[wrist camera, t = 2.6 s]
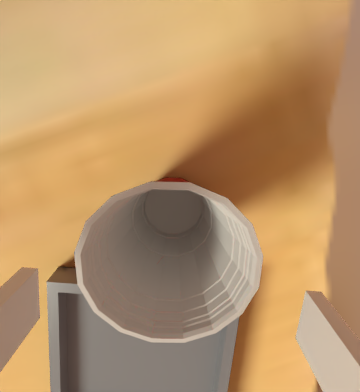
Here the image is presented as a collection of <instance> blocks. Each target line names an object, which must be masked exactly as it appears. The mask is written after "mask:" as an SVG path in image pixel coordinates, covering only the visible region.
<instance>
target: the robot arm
mask: <svg viewBox="0 0 360 392" xmlns="http://www.w3.org/2000/svg"><path fill="white" fill-rule="evenodd" d="M39 318H40V310H39V284H38V269H37V268H24V267H22V268H21V269H20V270H19V271H18V272H17V273H15V274H14V275H13V276H12V277H11V278H10V279H9V280H8V281H7V282H6V283H5V284H3V285H2V286H1V287H0V372H1V371H2V369H3V368H4V366H5V365H6V364H7V362H8V361H9V359H10V358H11V357H12V355H13V354H14V353H15V351H16V350H17V348H18V347H19V346H20V344H21V343H22V341H23V340H24V339H25V337H26V336H27V335H28V333H29V332H30V330H31V329H32V328H33V326H34V325H35V323H36V322H37V321H38V319H39ZM296 340H297V342H298V344H299V346H300V348H301V350H302V352H303V354H304V356H305V358H306V359H307V361H308V363H309V365H310V367H311V369H312V371H313V373H314V375H315V377H316V379H317V381H318V383H319V385H320V387H321V389H322V391H323V392H360V340H359V339H358V337H357V336H356V335H355V334H354V332H353V331H352V330H351V329H350V328H349V326H348V325H347V324H346V322H345V321H344V320H343V319H342V318H341V316H340V315H339V314H338V312H337V311H336V310H335V309H334V307H333V306H332V305H331V303H330V302H329V301H328V300H327V298H326V297H325V296H324V295H323V293H322V292H317V291H306V292H305V296H304V301H303V306H302V310H301V315H300V320H299V324H298V329H297V334H296Z"/></svg>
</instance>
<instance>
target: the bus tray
mask: <svg viewBox="0 0 360 392" xmlns="http://www.w3.org/2000/svg"><path fill="white" fill-rule="evenodd" d="M47 303H48V331H49V359H50V386H51V392H227V391H228V385H229V379H230V372H231V366H232V360H233V354H234V347H235V341H236V335H237V329H238V322H239V317H238V318H236V319H235V320H233V321H232V322H231V323H229V324H228V325H227V326H225V327H224V328H222V329H221V330H220V331H218V332H217V333H215V334H212V335H208V336H205V337H202V338H199V339H195V340H192V341H189V342H185V343H160V342H148V341H145V340H142V339H139V338H136V337H133V336H130V335H127V334H124V333H121V332H119V331H118V330H116V329H115V328H114V327H113V326H111V325H110V324H109V323H107V322H106V321H105V320H103V319H102V318H101V317H100V316H98V315H97V314H96V313H94V312H93V310H92V308H91V307H90V305H89V303H88V302H87V300H86V298H85V297H84V295H83V293H82V292H81V290H80V288H79V286H78V285H77V275H76V268H69V267H58V268H57V270H56V271H55V272H54V273H53V275H52V276H51V277H50V278H49V280H48V281H47Z"/></svg>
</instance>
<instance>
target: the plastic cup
mask: <svg viewBox="0 0 360 392" xmlns="http://www.w3.org/2000/svg"><path fill="white" fill-rule="evenodd" d="M74 257H75V266H76V275H77V285H78V286H79V288H80V290H81V292H82V293H83V295H84V297H85V298H86V300H87V302H88V303H89V305H90V307H91V308H92V310H93V312H94V313H96V314H97V315H98V316H100V317H101V318H102V319H103V320H105V321H106V322H107V323H109V324H110V325H111V326H113V327H114V328H115V329H116V330H118V331H119V332H121V333H124V334H127V335H130V336H133V337H136V338H139V339H142V340H145V341H148V342H160V343H185V342H189V341H192V340H195V339H199V338H202V337H205V336H208V335H212V334H215V333H217V332H218V331H220V330H221V329H222V328H224V327H225V326H227V325H228V324H229V323H231V322H232V321H233V320H235V319H236V318H238V317H239V316H240V315H242V314H243V312H244V310H245V309H246V307H247V306H248V304H249V303H250V301H251V299H252V298H253V296H254V295H255V293H256V291H257V290H258V288H259V283H260V276H261V269H262V262H263V254H262V251H261V248H260V245H259V242H258V239H257V236H256V233H255V230H254V227H253V224H252V223H251V222H250V221H249V220H248V219H247V218H246V217H245V216H244V215H243V214H242V213H241V212H240V211H239V210H238V209H237V208H236V207H235V206H234V205H233V204H232V202H231V201H230V200H229V199H228V198H226V197H223V196H221V195H219V194H216V193H214V192H212V191H209V190H207V189H205V188H202V187H200V186H198V185H195V184H193V183H191V182H189V181H186V180H184V179H182V178H164V179H161V180H159V181H151V182H148V183H145V184H142V185H140V186H137V187H134V188H132V189H129V190H126V191H124V192H121V193H119V194H116V195H113V196H112V197H111V198H110V199H109V200H107V201H106V202H105V203H104V204H103V205H102V206H101V207H100V208H99V209H98V210H97V211H96V212H95V213H94V214H93V215H92V216H91V217H90V218H89V219H88V220H87V221H86V222H85V225H84V228H83V230H82V233H81V236H80V238H79V241H78V244H77V247H76V249H75V252H74Z"/></svg>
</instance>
